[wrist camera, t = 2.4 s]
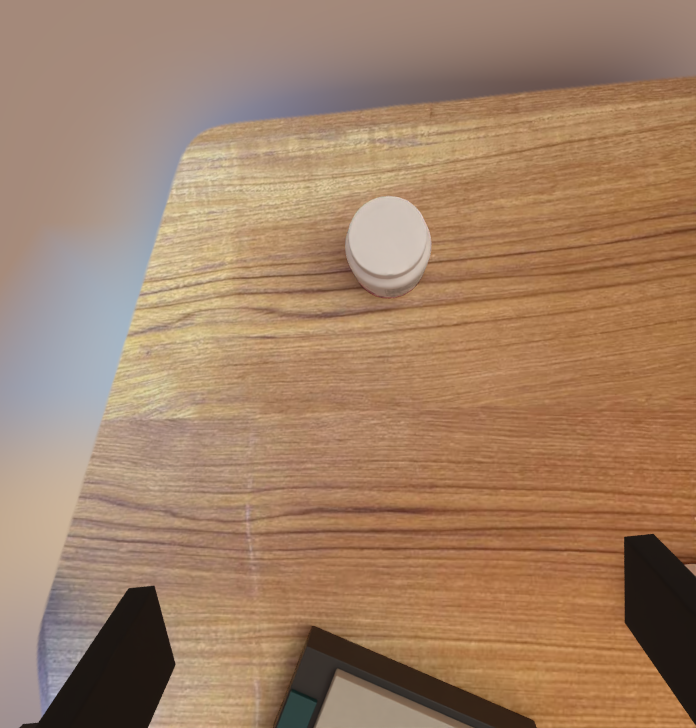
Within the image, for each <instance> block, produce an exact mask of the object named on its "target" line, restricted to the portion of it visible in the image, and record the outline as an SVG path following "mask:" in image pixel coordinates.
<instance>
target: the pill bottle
mask: <svg viewBox="0 0 696 728" xmlns="http://www.w3.org/2000/svg"><path fill="white" fill-rule="evenodd" d="M345 252H346V257H347V261H348V264H349V266H350V268H351V269H352V271H353V273H354V275H355V277H356V279H357V280H358V282H359V283H360V285H361V286H362V287H363V288H364V289H365V290H366V291H368V292H369V293H371V294H373V295H375V296H377V297H381V298H395V297H399V296H402V295H404V294H406V293H408V292H409V291H411V290H412V289H413V288H414V287H415V286H416V285H417V284H418V283H419V281H420V279H421V278H422V276H423V273H424V271H425V268H426V266H427V263H428V261H429V258H430V254H431V236H430V232H429V229H428V227H427V225H426V223H425V220H424V218H423V216H422V215H421V213H420V211H419V210H418V209H417V208H416V207H415V206H414V205H413V204H411V203H410V202H408V201H407V200H405V199H402V198H399V197H394V196H383V197H378V198H375V199H372V200H370V201H368V202H367V203H365V204H364V205H363V206H361V207H360V208H359V210H358V211H357V212H356V213H355V215H354V217H353V218H352V221H351V223H350V226H349V229H348V232H347V235H346V241H345Z"/></svg>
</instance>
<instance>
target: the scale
mask: <svg viewBox="0 0 696 728" xmlns="http://www.w3.org/2000/svg"><path fill="white" fill-rule="evenodd" d="M273 728H537V727H536V725H535V722H534V721H533V720H531V719H528V718H526V717H524V716H521V715H519V714H517V713H514V712H512V711H510V710H507V709H505V708H503V707H500V706H498V705H496V704H493V703H491V702H489V701H486V700H484V699H482V698H479V697H477V696H475V695H473V694H470V693H468V692H466V691H463V690H461V689H459V688H456V687H454V686H452V685H449V684H447V683H445V682H442V681H440V680H438V679H435V678H433V677H431V676H428V675H426V674H424V673H421V672H419V671H417V670H414V669H412V668H410V667H407V666H405V665H403V664H400V663H398V662H396V661H393V660H391V659H389V658H386V657H384V656H382V655H379V654H377V653H375V652H373V651H370V650H368V649H366V648H363V647H361V646H359V645H356V644H354V643H352V642H349V641H347V640H345V639H342V638H340V637H338V636H335V635H333V634H331V633H328V632H326V631H324V630H321V629H319V628H317V627H314V626H312V628H311V631H310V633H309V636H308V639H307V641H306V644H305V646H304V649H303V651H302V654H301V657H300V659H299V662H298V664H297V667H296V669H295V672H294V675H293V677H292V680H291V682H290V685H289V687H288V690H287V693H286V695H285V698H284V700H283V703H282V705H281V708H280V710H279V713H278V716H277V718H276V721H275V723H274V726H273Z"/></svg>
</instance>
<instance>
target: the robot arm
mask: <svg viewBox="0 0 696 728" xmlns="http://www.w3.org/2000/svg"><path fill="white" fill-rule="evenodd" d="M624 574H625V624H626V625H627V626H628V628H629V629H630V631H631V632H632V634H633V635H634V637H635V638H636V639H637V641H638V642H639V644H640V645H641V647H642V648H643V650H644V651H645V653H646V654H647V655H648V657H649V658H650V660H651V661H652V663H653V664H654V666H655V667H656V668H657V670H658V671H659V673H660V674H661V676H662V677H663V679H664V680H665V682H666V683H667V684H668V686H669V687H670V689H671V690H672V692H673V693H674V695H675V696H676V697H677V699H678V700H679V702H680V703H681V705H682V706H683V708H684V709H685V710H686V712H687V713H688V715H689V716H690V718H691V719H692V721H693V722H694V724H695V725H696V576H695V575H694V574H693V573H692V572H691V571H690V570H689V569H688V568H687V567H686V566H685V565H684V564H683V563H682V562H681V561H680V560H679V559H678V558H677V557H676V556H675V555H674V554H673V553H672V552H671V551H670V550H669V549H668V548H667V547H666V546H665V545H664V544H663V543H662V542H661V541H660V540H659V539H658V538H657V537H656V536H655V535H654V534H648V535H638V536H628V537H624ZM175 665H176V664H175V661H174V657H173V653H172V649H171V646H170V642H169V638H168V635H167V631H166V627H165V623H164V620H163V616H162V612H161V608H160V605H159V601H158V597H157V594H156V590H155V586H147V587H137V588H128V590H127V591H126V593H125V594H124V596H123V597H122V599H121V600H120V602H119V603H118V605H117V606H116V608H115V609H114V611H113V612H112V614H111V615H110V617H109V618H108V620H107V621H106V623H105V624H104V626H103V627H102V629H101V630H100V632H99V633H98V635H97V636H96V638H95V639H94V641H93V642H92V644H91V645H90V647H89V648H88V650H87V651H86V653H85V654H84V656H83V657H82V658H81V660H80V661H79V663H78V664H77V666H76V667H75V669H74V670H73V672H72V673H71V675H70V676H69V678H68V679H67V681H66V682H65V684H64V685H63V687H62V688H61V690H60V691H59V693H58V694H57V696H56V697H55V699H54V700H53V702H52V703H51V705H50V706H49V708H48V709H47V711H46V712H45V714H44V715H43V717H42V718H41V720H40V721H39V723H31V724H23V725H22V726H21V727H20V728H148V726H149V724H150V722H151V719H152V717H153V715H154V713H155V710H156V708H157V706H158V704H159V701H160V699H161V697H162V694H163V692H164V690H165V688H166V685H167V683H168V681H169V679H170V676H171V674H172V672H173V669H174V667H175Z"/></svg>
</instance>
